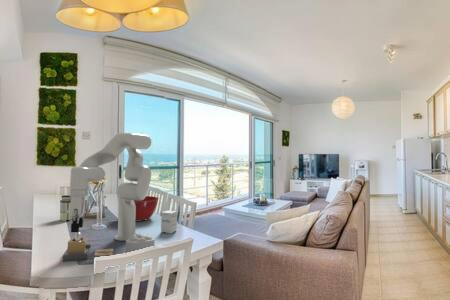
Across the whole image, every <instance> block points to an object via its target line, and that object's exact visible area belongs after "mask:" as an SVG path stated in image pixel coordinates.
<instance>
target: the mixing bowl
mask: <svg viewBox="0 0 450 300" xmlns="http://www.w3.org/2000/svg"><path fill="white" fill-rule="evenodd" d="M158 202H159V197H157V196H151V195H149V196H148V195H146V197H145V199H143V200H141V201H137V200H134V203H135V206H136V219H135V220H145V219H148V218H149V219H150V218H151V217H152V216H153V214H154V212H155V210H156V208H157V205H158ZM149 219H148V220H149ZM145 221H146V220H145Z"/></svg>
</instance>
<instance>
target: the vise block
mask: <svg viewBox="0 0 450 300" xmlns="http://www.w3.org/2000/svg"><path fill="white" fill-rule="evenodd" d="M81 237H82V233H81V232H74V238H75V241H81ZM91 252H92V242H87V248H86V250H85V252H80V253H68V248H67V249H66V250H65V251H64V253H63V254H62V262H63V263H66V262H77V261H88V259H89V257H90V255H91Z"/></svg>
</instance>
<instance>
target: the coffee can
mask: <svg viewBox="0 0 450 300" xmlns="http://www.w3.org/2000/svg"><path fill="white" fill-rule="evenodd" d="M59 202H60V204H59V207H60V210H59V221H60V220H62V221H61V222H67V221H66V220H72V218H71V219H70V218H69V213H70V203H71V198H66V199H64V198H63V199H60V200H59Z"/></svg>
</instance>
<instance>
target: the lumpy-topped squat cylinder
mask: <svg viewBox="0 0 450 300" xmlns="http://www.w3.org/2000/svg"><path fill="white" fill-rule="evenodd" d="M136 234H137V233H136ZM150 246H154V247H155V238H154V237H152V236H151V235H149V234H143V235H142V234H140V233H138V234H137V235H135V236H132V237H131V238H130V239H128V240H126V241H125V254H126V253H127V252H131V251H135V250H139V249H143V248H146V247H150Z"/></svg>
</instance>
